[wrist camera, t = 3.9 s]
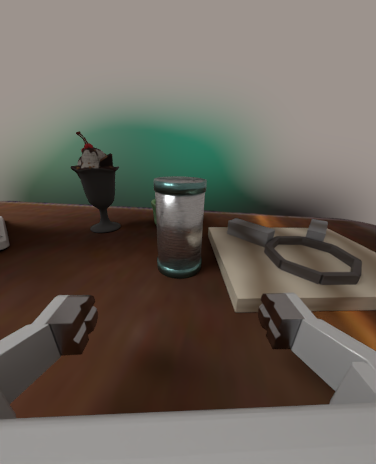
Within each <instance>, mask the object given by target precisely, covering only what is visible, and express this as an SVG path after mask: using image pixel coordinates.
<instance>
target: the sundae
mask: <svg viewBox="0 0 376 464" xmlns="http://www.w3.org/2000/svg"><path fill="white" fill-rule="evenodd" d="M76 134H77V135H79V134H80V132H76ZM80 135H81V134H80ZM80 135H79V136H80ZM81 136H83V135H81ZM81 136H80V137H81ZM81 138H82V137H81ZM82 139H83V138H82ZM84 139H85V138H84ZM84 139H83V140H84ZM84 141H86V139H85V140H84ZM86 143H87V144H86ZM118 168H119V167H113V162H112V154H108V155H106V154H105V153H103V152H102V151H101V150H99V149H97V148H94V147H93V146H92V145H91V144H88V142H87V141H86V142H85V146H84V148H83V149H82V156H81V157H80V159H79V160H78V166H71V169H72V170H73V171H75V172H76V173H77V174H78V176H79V178H80V179H81V182H82V185H83V188H84V191H85V194H86V197H87V199H88V201H89V203H90V204H92V205H93V206H94V207H96V208H98V209H99V210H100V215H101V219H100V222H99V223H98V224H95V225H93V226H92V227H91V228H90V230H91V231H93V232H96V233H106V232H112V231H115V230H117V229H119V228H120V226H121V225H120V224H119V223H116V222H111V221H110V220H109V218H108V215H107V208H108V207H109V206H110V205H111V204H112V203H113V201H114V195H115V171H116V170H118Z"/></svg>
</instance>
